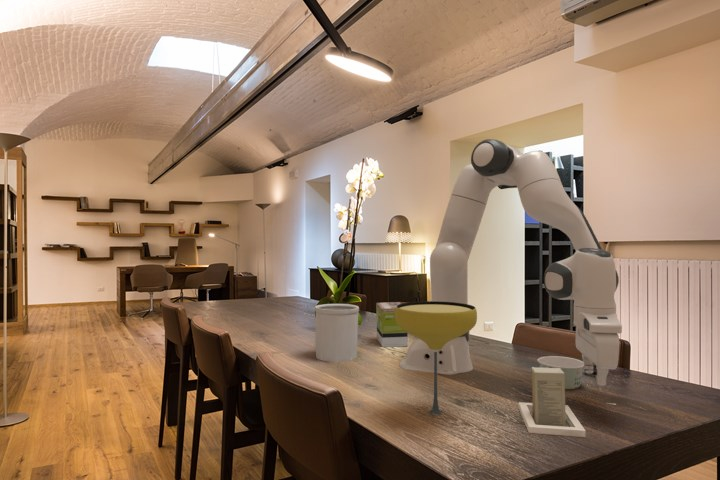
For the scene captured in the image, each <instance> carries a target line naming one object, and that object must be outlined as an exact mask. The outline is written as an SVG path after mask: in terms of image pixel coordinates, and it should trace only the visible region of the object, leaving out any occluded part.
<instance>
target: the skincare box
mask: <svg viewBox="0 0 720 480" xmlns="http://www.w3.org/2000/svg"><path fill="white" fill-rule="evenodd" d="M531 393H532V394H531V398H532V399H531V400H532V402H531V403H532V406H533V412H532V418H533V420H534V422H535V425H549V426H564V427H567V423H566V422H567V420H566V414H565V405H566V389H565V378H564V372H563V371H562V369H561V368H542V367H540V366H539V367H535V366H532V367H531Z"/></svg>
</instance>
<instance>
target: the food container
mask: <svg viewBox="0 0 720 480" xmlns="http://www.w3.org/2000/svg"><path fill="white" fill-rule="evenodd" d="M537 363H539V367H542V368H561V369H562V371H563V372H564V378H565V390H572V389H579V388H580V386H581V380H582V375H583V372H584V363H583V360H580V359H577V358H572V357H567V356H561V355H560V356H557V355H555V356H554V355H548V356H546V355H545V356H540V357H539V358H537Z"/></svg>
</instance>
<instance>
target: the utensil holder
mask: <svg viewBox="0 0 720 480" xmlns="http://www.w3.org/2000/svg"><path fill="white" fill-rule="evenodd" d="M314 311H315V358H316V359H317V360H319V361H323V362H331V363H334V362H335V363H338V362H339V363H342V362H349V361H354V360H357V357H358V338H359V337H358V335H359V333H358V331H359V312H360V307H359V305H355V304H351V303H350V304H349V303H324V304H318V305H315V307H314Z"/></svg>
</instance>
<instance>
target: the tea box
mask: <svg viewBox="0 0 720 480" xmlns="http://www.w3.org/2000/svg"><path fill="white" fill-rule="evenodd" d="M399 304H402V303H401V302H400V301H396V302H395V301H394V302H393V301H391V302H389V301H388V302H376V303H375V307H376V308H375V309H376V315H375V316H376V340H378V342H379V344H380V346H381V347H382V348H398V347H399V348H400V347H408V345H409V343H408V342H409V340H408V339H409V337H408V334H409V333H407V332H406V331H404V330H403V329H402V328H401V327H400V326H399V325H398V324H397V323H396V319H395V310H396V306H397V305H399Z"/></svg>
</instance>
